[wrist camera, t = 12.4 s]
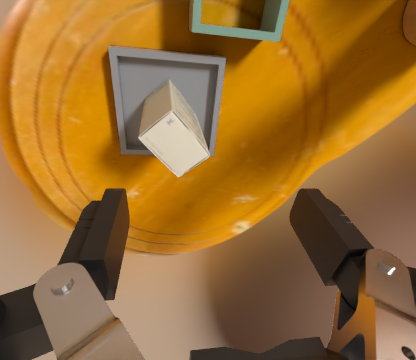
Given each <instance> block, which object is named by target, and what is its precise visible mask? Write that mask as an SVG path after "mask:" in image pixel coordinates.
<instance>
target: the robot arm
mask: <svg viewBox="0 0 416 360" xmlns="http://www.w3.org/2000/svg"><path fill="white" fill-rule="evenodd" d="M403 32H404V35H405V37H406V39H407V40H408V41H409V42H410V43H411V44H414V45H416V0H409V1H408V3H407V6H406V8H405V12H404V16H403ZM290 223H291V225H292V227H293V229H294V231H295V233H296V234H297V236H298V238H299V240H300V241H301V243H302V245H303V247H304V249H305V250H306V252H307V254H308V256H309V258H310V259H311V261H312V262H313V264H314V266H315V268H316V270H317V272H318V274H319V275H320V277H321V279H322V281H323V283H324V284H325V286H331V285H337V286H338V288H339V291H338V292H337V294H336V302H335V310H334V319H333V326H332V334H331V337H330V340H329V343H328V344H327V348H324V346H323V344H322V342H321V340H320V337H313V338H304V339H295V340H289V341H287V342H285V343H283V344H280V345H279V346H276V347H274V348H273V349H270V350H268V351H266V352H264V353H260V354H258V353H252V352H247V351H242V350H237V349H232V348H227V347H219V348H210V349H201V350H192V351H190V360H416V269H415V268H411V267H406V266H405V265H404V263H403V262H401V260H400V259H398V258H397V257H395V256H394V255H393V254H391V253H389V252H386V251H383V250H381V249H374V247H373V246H372V245H371V244H370V243H369V242H368V241H367V239H366V238H365V237H364V236H363V235H362V234H361V232H360V231H359V230H358V229H357V228H356V227H355V226H354V225H353V223H351V221H350V220H349V218H348V217H347V216H345V214H344V213H343V211H342V210H341V209H340V208H339V207H338V206H337V205H336V204H334V203H333V202H331V201H330V200H328V199H326V198H325V196H324V195H323V194H322V193H321V192H320V190H319V189H300V190H299V192H298V193H297V196H296V199H295V201H294V204H293V206H292V209H291V211H290ZM128 230H129V209H128V202H127V195H126V190H125V189H106V190H105V192H104V195H103V197H102V200H101V201H92V202H91V203H90V204H88V205H87V206H86V207H85V208H84V209H83V211H82V213H81V215H80V218H79V221H78V222H77V224H76V226H75V230H74V231H73V233H72V235H71V237H70V239H69V242H68V244H67V246H66V248H65V250H64V253H63V255H62V257H61V259H60V261H59V263H58V265H57V266H56V267H54V268H52V269H50V270H49V271H47V272H46V273H45V274H44V275H43V276H42V277H41V278H40V279H39V280H38V282H37V283H36V284H34V285H31V286H28V287H25V288H22V289H19V290H16V291H13V292H10V293H7V294H4V295H1V296H0V360H32V359H34V358H36V357H39V356H41V355H43V354H46V353H48V352H50V351H53V350H54V351H55V354H56V357H57V360H145V359H144V357H143V356H142V354H141V352H140V351H139V349H138V348H137V346H136V344H135V343H134V341H133V339H132V338H131V336H130V335H129V333H128V331H127V330H126V328H125V327H124V325H123V324H122V322H121V321H120V319H119V318H116V317H115V316H114V315H113V313H112V312H111V310H110V308H109V306H108V305H107V303H106V302H105V300H114V299H115V293H116V289H117V284H118V279H119V274H120V269H121V264H122V260H123V255H124V250H125V245H126V240H127V235H128Z"/></svg>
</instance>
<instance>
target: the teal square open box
mask: <svg viewBox="0 0 416 360" xmlns="http://www.w3.org/2000/svg"><path fill="white" fill-rule="evenodd" d="M288 4H289V0H265V5H264V11H263V16H262V21H261V26H260V30H254V29H245V28H237V27H229V26H220V25H212V24H204V23H200V22H201V8H202V0H190V8H189V30H190V31H191V32H195V33H204V34H213V35H222V36H231V37H240V38H248V39H257V40H266V41H275V42H280V38H281V34H282V30H283V26H284V21H285V17H286V13H287V9H288Z"/></svg>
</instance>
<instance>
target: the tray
mask: <svg viewBox="0 0 416 360" xmlns="http://www.w3.org/2000/svg"><path fill="white" fill-rule="evenodd" d="M108 50H109V58H110V67H111V75H112V83H113V91H114V100H115V108H116V116H117V124H118V133H119V141H120V149H121V154H123V155H154V154H153V153H152V152H151V151H150V150H149V149H148V148H147V147H146V146H145V145H144V144H143V143H142V142H141V141H140V140H139V138H138V136H139V130H140V125H141V119H142V113H143V108H144V102H145V98H146V97H147V96H148V95H150V94H151V93H152V92H153V91H154V90H155V89H157V88H158V87H159V86H160V85H162V84H163V83H164V82H165V81H167V80H168V79H170V81H171V82H172V83H173V84H174V86H175V87H176V88H177V89H178V91H179V92H180V93H181V95H182V96H183V97H184V98H185V100H186V101H187V102H188V104H189V105H190V107H191V108H192V109H193V111H194V112H195V114H196V116H197V119H198V122H199V125H200V127H201V130H202V133H203V136H204V139H205V142H206V144H207V147H208V150H209V153H210V156H214V150H215V142H216V135H217V127H218V119H219V111H220V104H221V96H222V88H223V81H224V73H225V65H226V58H225V57H224V56H219V55H209V54H199V53H188V52H178V51H168V50H157V49H147V48H137V47H126V46H116V45H111V46H109V47H108Z"/></svg>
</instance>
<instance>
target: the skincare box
mask: <svg viewBox="0 0 416 360" xmlns="http://www.w3.org/2000/svg"><path fill="white" fill-rule="evenodd" d="M138 138H139V140H140V141H141V142H142V143H143V144H144V145H145V146H146V147H147V148H148V149H149V150H150V151H151V152H152V153H153V154H154V155H155V156H156V157H157V158H158V159H159V160H160V161H161V162H162V163H163V164H165V165H166V166H167V167H168V168H169V169H170V170H171V171H172V172H173V173H174V174H175V175H176V176H177V177H180V176H182V175H183V174H185V173H186V172H188V171H189V170H191V169H192V168H194V167H195V166H197V165H198V164H200V163H201V162H203V161H204V160H206V159H207V158H208V157H210V153H209V150H208V147H207V144H206V142H205V139H204V136H203V133H202V130H201V127H200V125H199V122H198V119H197V116H196V114H195V112H194V111H193V109H192V108H191V107H190V105H189V104H188V102H187V101H186V100H185V98H184V97H183V96H182V95H181V93H180V92H179V91H178V89H177V88H176V87H175V86H174V84H173V83H172V82H171V81H170V79H168V80H167V81H165V82H164V83H163V84H162V85H160V86H159V87H158V88H157V89H155V90H154V91H153V92H152V93H151V94H150V95H148V96H147V97H146V98H145V102H144V108H143V113H142V119H141V125H140V130H139V136H138Z"/></svg>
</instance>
